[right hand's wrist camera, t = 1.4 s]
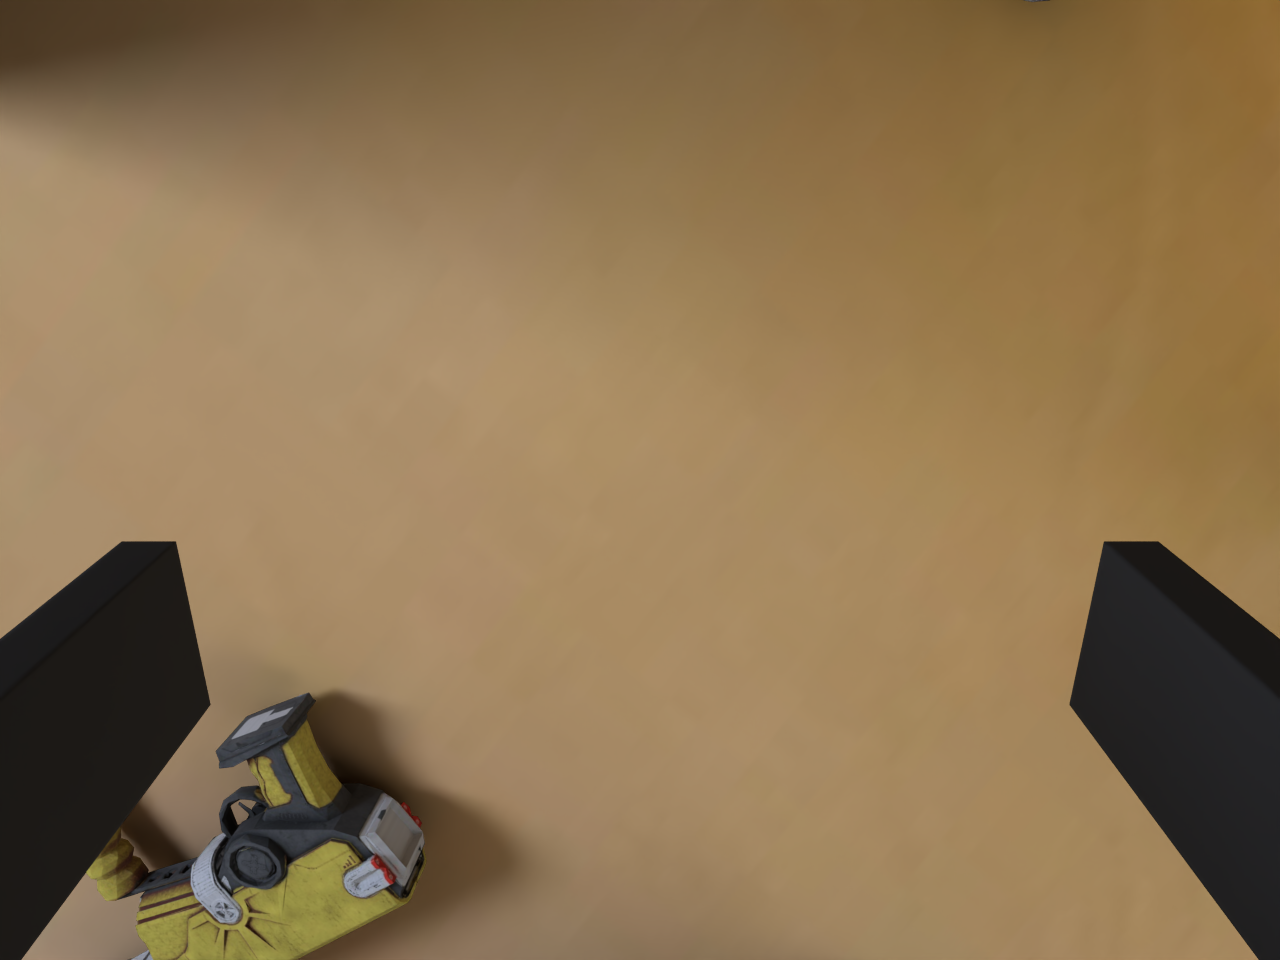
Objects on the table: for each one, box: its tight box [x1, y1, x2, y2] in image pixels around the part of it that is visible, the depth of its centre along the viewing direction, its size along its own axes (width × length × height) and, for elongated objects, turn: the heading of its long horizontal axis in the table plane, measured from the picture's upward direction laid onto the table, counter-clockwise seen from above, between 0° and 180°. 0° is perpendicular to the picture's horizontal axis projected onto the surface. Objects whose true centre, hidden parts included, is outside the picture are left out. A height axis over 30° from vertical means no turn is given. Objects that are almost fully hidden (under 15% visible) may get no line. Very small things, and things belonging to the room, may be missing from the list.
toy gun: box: [86, 693, 427, 960], centre depth 48 cm, size 5×24×15 cm
